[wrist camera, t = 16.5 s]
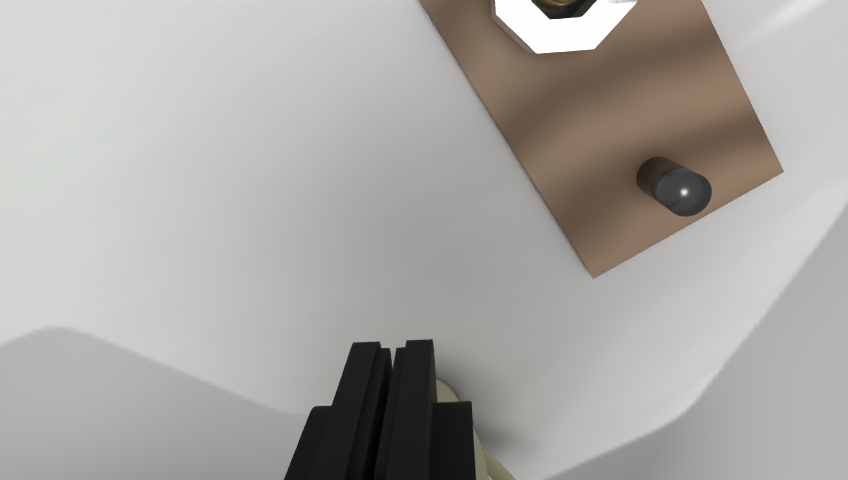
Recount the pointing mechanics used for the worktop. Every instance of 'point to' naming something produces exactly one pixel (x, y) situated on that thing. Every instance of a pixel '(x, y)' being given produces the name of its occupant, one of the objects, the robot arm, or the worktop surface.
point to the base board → (615, 118)
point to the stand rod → (674, 186)
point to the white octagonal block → (558, 24)
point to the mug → (476, 444)
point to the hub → (558, 8)
